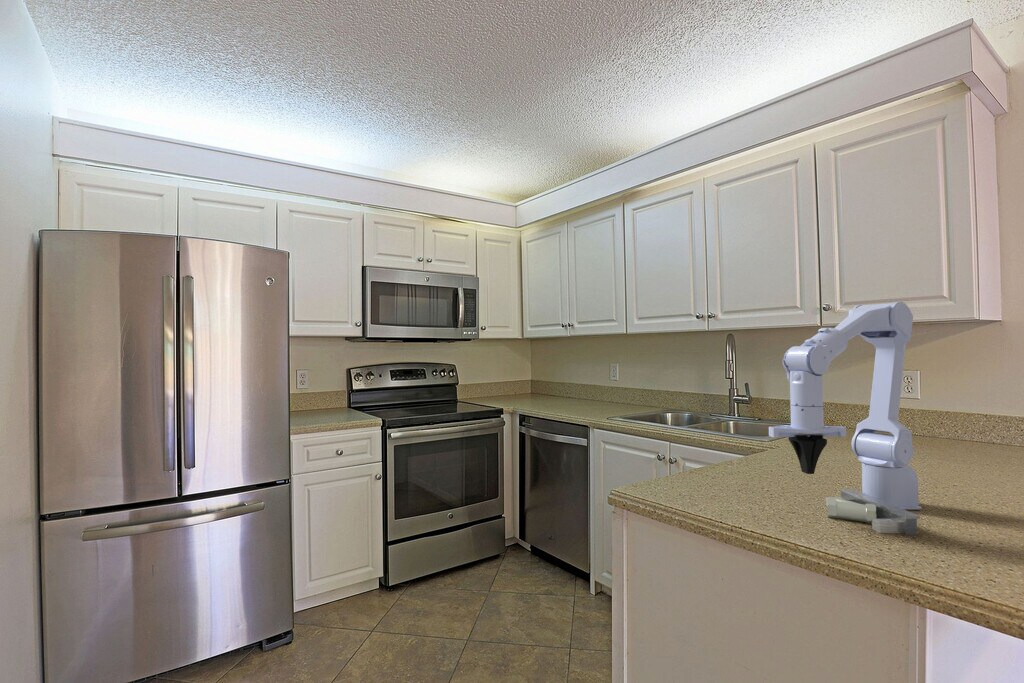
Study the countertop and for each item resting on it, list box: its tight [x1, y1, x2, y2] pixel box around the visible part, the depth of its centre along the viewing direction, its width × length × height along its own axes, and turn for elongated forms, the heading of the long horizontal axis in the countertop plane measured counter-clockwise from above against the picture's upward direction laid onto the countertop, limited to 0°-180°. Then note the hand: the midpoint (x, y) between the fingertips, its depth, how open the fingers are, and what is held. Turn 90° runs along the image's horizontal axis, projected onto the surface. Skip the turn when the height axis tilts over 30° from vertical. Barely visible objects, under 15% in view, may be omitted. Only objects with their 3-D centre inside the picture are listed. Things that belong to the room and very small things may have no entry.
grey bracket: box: [825, 488, 921, 536], centre depth 100 cm, size 7×18×4 cm, turn 0°
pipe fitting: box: [826, 498, 876, 525], centre depth 101 cm, size 8×4×7 cm
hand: (807, 472), depth 100 cm, fingers closed
